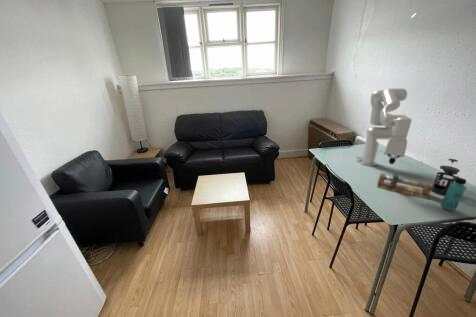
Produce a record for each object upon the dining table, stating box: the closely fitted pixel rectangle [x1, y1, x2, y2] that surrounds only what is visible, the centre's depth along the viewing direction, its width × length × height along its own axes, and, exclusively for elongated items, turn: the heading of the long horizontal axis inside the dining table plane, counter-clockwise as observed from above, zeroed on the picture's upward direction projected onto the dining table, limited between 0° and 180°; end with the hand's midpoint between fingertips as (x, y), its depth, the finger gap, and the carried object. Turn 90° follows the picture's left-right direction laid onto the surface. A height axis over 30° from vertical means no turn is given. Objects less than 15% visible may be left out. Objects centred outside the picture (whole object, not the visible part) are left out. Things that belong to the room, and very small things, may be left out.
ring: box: [390, 171, 400, 188], centre depth 138 cm, size 2×8×8 cm, turn 145°
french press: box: [430, 158, 461, 196], centre depth 129 cm, size 12×9×23 cm
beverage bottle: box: [440, 177, 467, 211], centre depth 114 cm, size 6×7×20 cm
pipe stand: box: [376, 172, 433, 200], centre depth 136 cm, size 27×10×8 cm, turn 55°
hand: (391, 163), depth 136 cm, fingers closed
